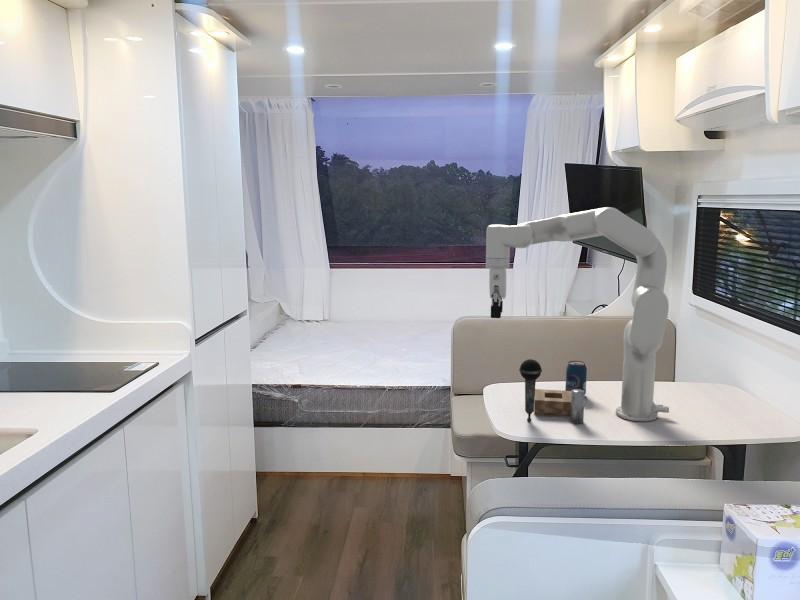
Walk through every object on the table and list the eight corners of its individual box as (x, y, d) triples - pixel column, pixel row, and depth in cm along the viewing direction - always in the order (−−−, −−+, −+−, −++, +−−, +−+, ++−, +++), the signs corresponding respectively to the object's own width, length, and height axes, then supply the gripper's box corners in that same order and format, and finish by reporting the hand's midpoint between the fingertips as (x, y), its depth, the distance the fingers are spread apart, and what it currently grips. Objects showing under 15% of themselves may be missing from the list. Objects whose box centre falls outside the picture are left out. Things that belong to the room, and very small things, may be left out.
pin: (582, 420, 199) (584, 389, 198) (583, 424, 196) (585, 393, 194) (569, 419, 200) (570, 388, 199) (570, 423, 196) (571, 392, 195)
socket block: (570, 405, 213) (571, 391, 213) (572, 417, 202) (573, 402, 201) (534, 403, 216) (534, 389, 215) (534, 414, 204) (534, 400, 204)
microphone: (540, 418, 201) (542, 357, 198) (540, 426, 194) (542, 363, 191) (518, 417, 202) (519, 356, 199) (517, 424, 196) (519, 361, 192)
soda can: (561, 396, 223) (562, 363, 221) (570, 391, 228) (571, 359, 227) (580, 400, 219) (581, 366, 217) (588, 395, 224) (590, 362, 222)
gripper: (508, 266, 196) (507, 320, 199) (510, 260, 213) (509, 310, 216) (483, 265, 198) (483, 319, 200) (487, 260, 214) (487, 310, 217)
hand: (496, 315), depth 208 cm, fingers open, 9 cm apart
